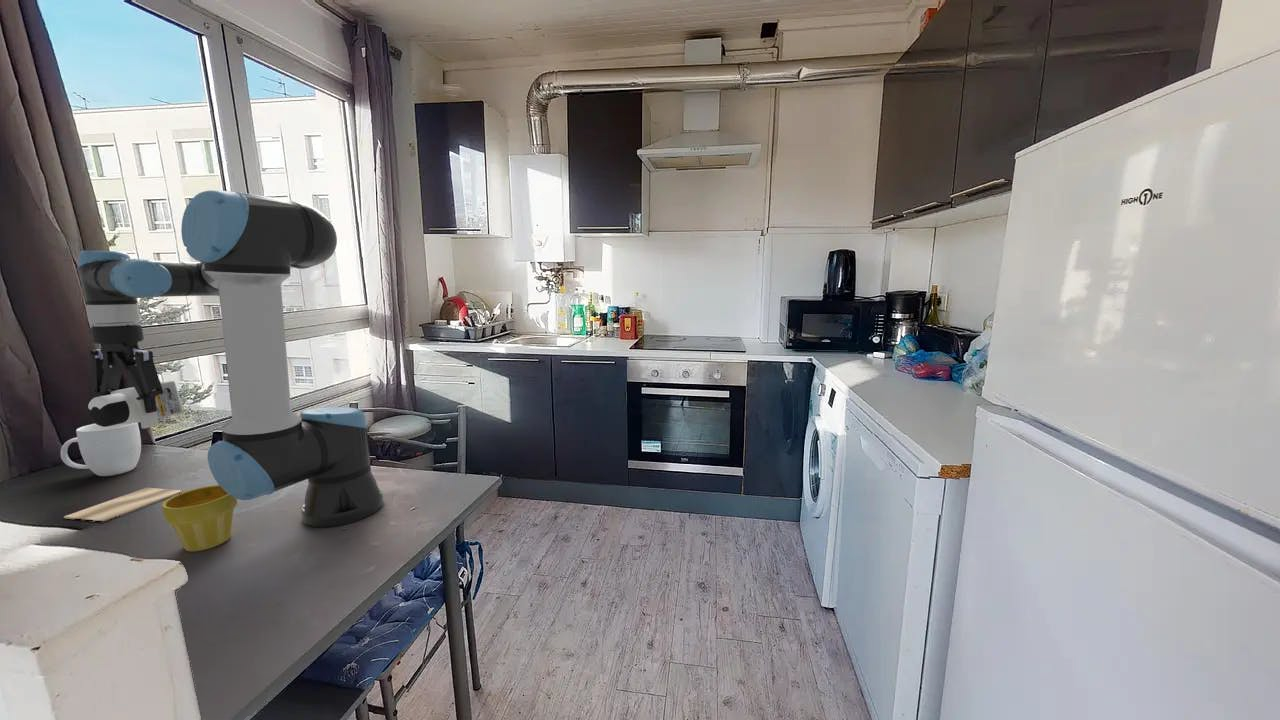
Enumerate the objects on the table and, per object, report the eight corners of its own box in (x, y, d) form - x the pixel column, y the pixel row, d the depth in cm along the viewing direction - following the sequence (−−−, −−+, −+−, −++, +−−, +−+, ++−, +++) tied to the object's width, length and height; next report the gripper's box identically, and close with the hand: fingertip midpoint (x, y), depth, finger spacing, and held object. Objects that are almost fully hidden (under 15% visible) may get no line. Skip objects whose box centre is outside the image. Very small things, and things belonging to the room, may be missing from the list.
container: (184, 412, 111) (115, 428, 99) (159, 415, 113) (88, 432, 100) (175, 380, 110) (104, 393, 98) (150, 384, 112) (77, 397, 99)
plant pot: (164, 564, 84) (155, 513, 83) (176, 540, 93) (167, 493, 91) (239, 545, 90) (232, 497, 89) (244, 524, 99) (237, 479, 97)
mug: (53, 486, 118) (42, 436, 116) (78, 471, 128) (68, 424, 126) (135, 474, 125) (126, 427, 123) (153, 461, 135) (145, 417, 133)
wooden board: (183, 492, 114) (183, 490, 114) (103, 522, 100) (103, 520, 100) (146, 489, 116) (146, 487, 116) (63, 518, 102) (63, 516, 102)
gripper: (175, 323, 103) (191, 423, 107) (100, 322, 107) (117, 418, 111) (134, 326, 96) (152, 433, 100) (54, 324, 100) (74, 427, 104)
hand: (133, 425), depth 105 cm, fingers closed on container, 8 cm apart
